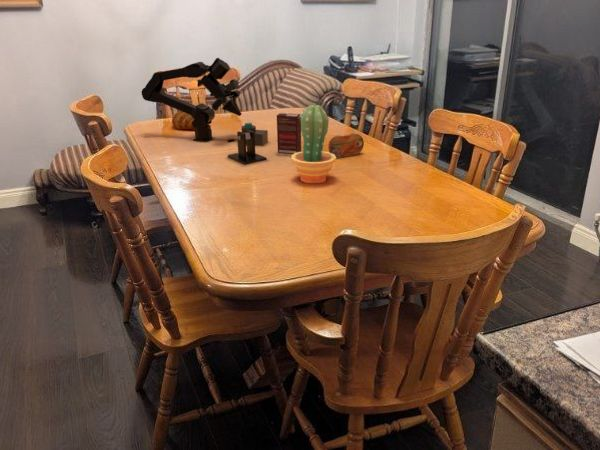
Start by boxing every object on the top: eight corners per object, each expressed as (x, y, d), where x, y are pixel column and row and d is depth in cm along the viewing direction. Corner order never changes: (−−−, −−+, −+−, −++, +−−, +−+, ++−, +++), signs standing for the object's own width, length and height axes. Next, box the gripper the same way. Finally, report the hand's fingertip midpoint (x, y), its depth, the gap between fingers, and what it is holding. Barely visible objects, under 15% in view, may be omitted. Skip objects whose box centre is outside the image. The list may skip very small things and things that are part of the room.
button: (243, 128, 221) (243, 123, 220) (246, 126, 224) (246, 122, 223) (250, 128, 220) (250, 124, 219) (253, 126, 223) (253, 122, 222)
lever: (227, 144, 205) (226, 138, 205) (241, 141, 208) (239, 135, 208) (241, 140, 196) (240, 134, 196) (255, 137, 199) (253, 131, 199)
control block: (239, 144, 221) (238, 128, 219) (245, 140, 228) (244, 124, 225) (262, 146, 219) (261, 130, 216) (268, 142, 225) (267, 126, 222)
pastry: (206, 129, 246) (205, 112, 243) (180, 132, 240) (178, 115, 236) (190, 120, 262) (188, 104, 259) (164, 124, 256) (163, 107, 252)
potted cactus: (337, 173, 187) (339, 102, 177) (333, 187, 173) (335, 111, 163) (295, 170, 189) (294, 100, 179) (287, 185, 175) (286, 110, 165)
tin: (331, 159, 202) (331, 137, 199) (326, 157, 205) (327, 135, 201) (363, 154, 209) (364, 133, 205) (359, 152, 211) (360, 131, 208)
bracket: (227, 158, 204) (226, 130, 199) (249, 153, 210) (248, 126, 205) (244, 165, 195) (243, 137, 191) (266, 160, 201) (265, 132, 197)
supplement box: (301, 153, 209) (301, 113, 203) (297, 157, 205) (297, 116, 199) (281, 151, 212) (280, 112, 206) (277, 155, 208) (276, 114, 201)
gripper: (217, 76, 207) (244, 106, 209) (235, 70, 223) (260, 97, 225) (200, 96, 212) (227, 125, 214) (219, 88, 228) (244, 115, 230)
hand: (240, 115), depth 221 cm, fingers closed
